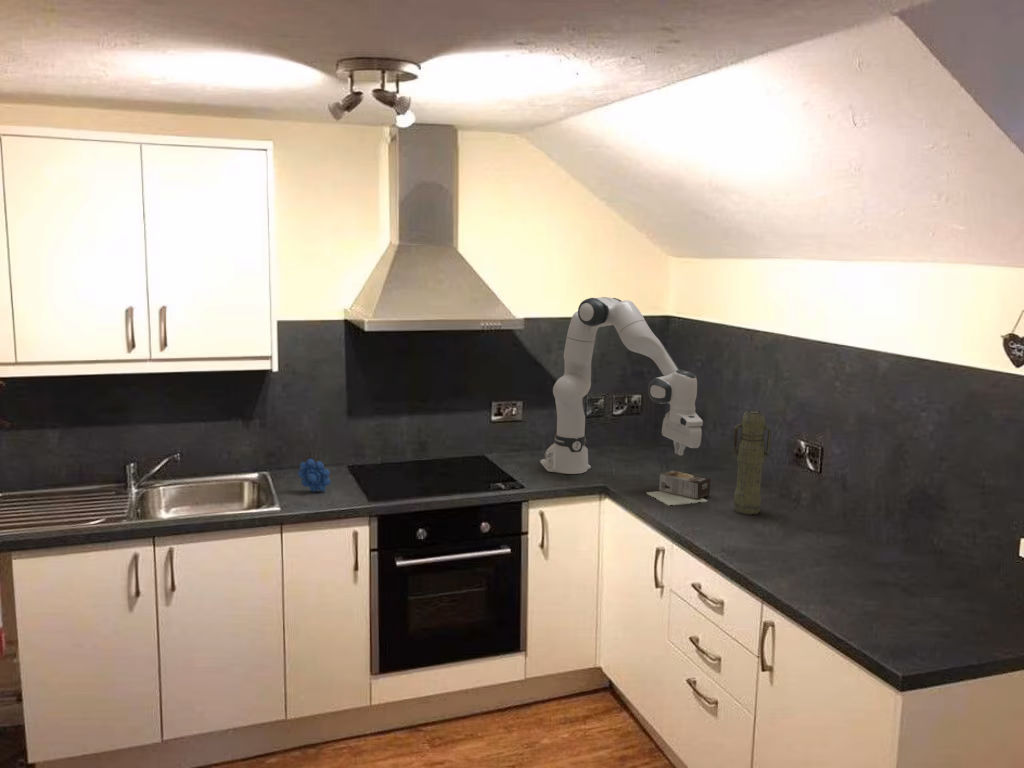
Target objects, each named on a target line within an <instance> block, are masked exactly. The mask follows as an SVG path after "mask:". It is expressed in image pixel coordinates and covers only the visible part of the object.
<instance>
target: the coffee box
mask: <svg viewBox="0 0 1024 768" xmlns="http://www.w3.org/2000/svg"><path fill="white" fill-rule="evenodd" d="M658 489H659V491H664V492H669V493H673V494H677V495H681V496H686V497H690V498H694V499H701V498H703V499H704V498H705V497H707V496H710V494H711V478H710V477H707V476H706V477H705V476H700V475H696V474H690V473H687V472H682V471H677V470H669V471H667V472H663V473H661V474H660V475H659V488H658Z"/></svg>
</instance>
